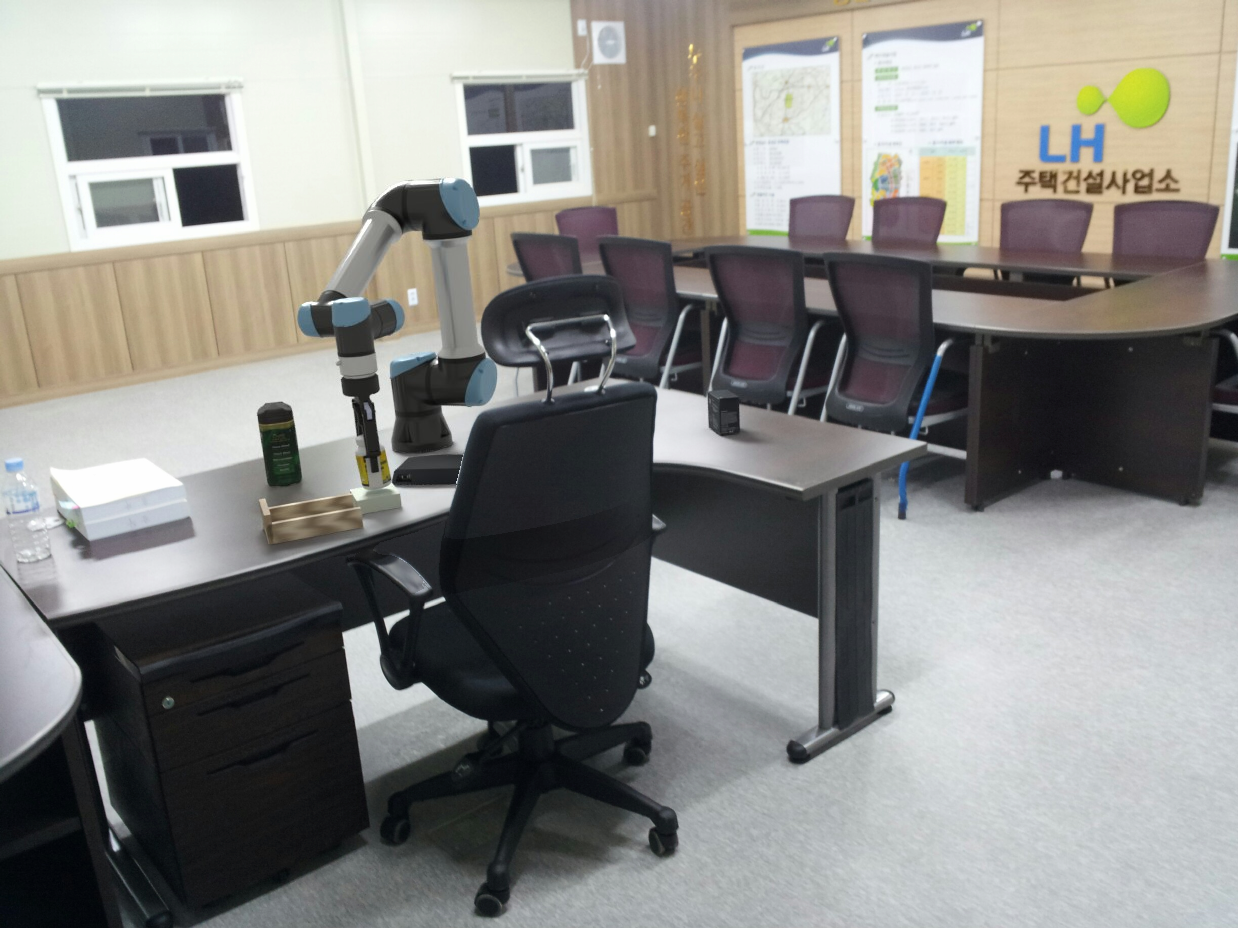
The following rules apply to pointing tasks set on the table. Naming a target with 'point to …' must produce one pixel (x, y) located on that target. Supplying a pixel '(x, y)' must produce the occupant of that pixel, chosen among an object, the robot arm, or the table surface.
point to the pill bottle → (363, 466)
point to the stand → (376, 499)
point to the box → (723, 412)
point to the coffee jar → (279, 444)
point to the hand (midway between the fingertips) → (373, 482)
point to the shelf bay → (310, 518)
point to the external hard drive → (428, 470)
